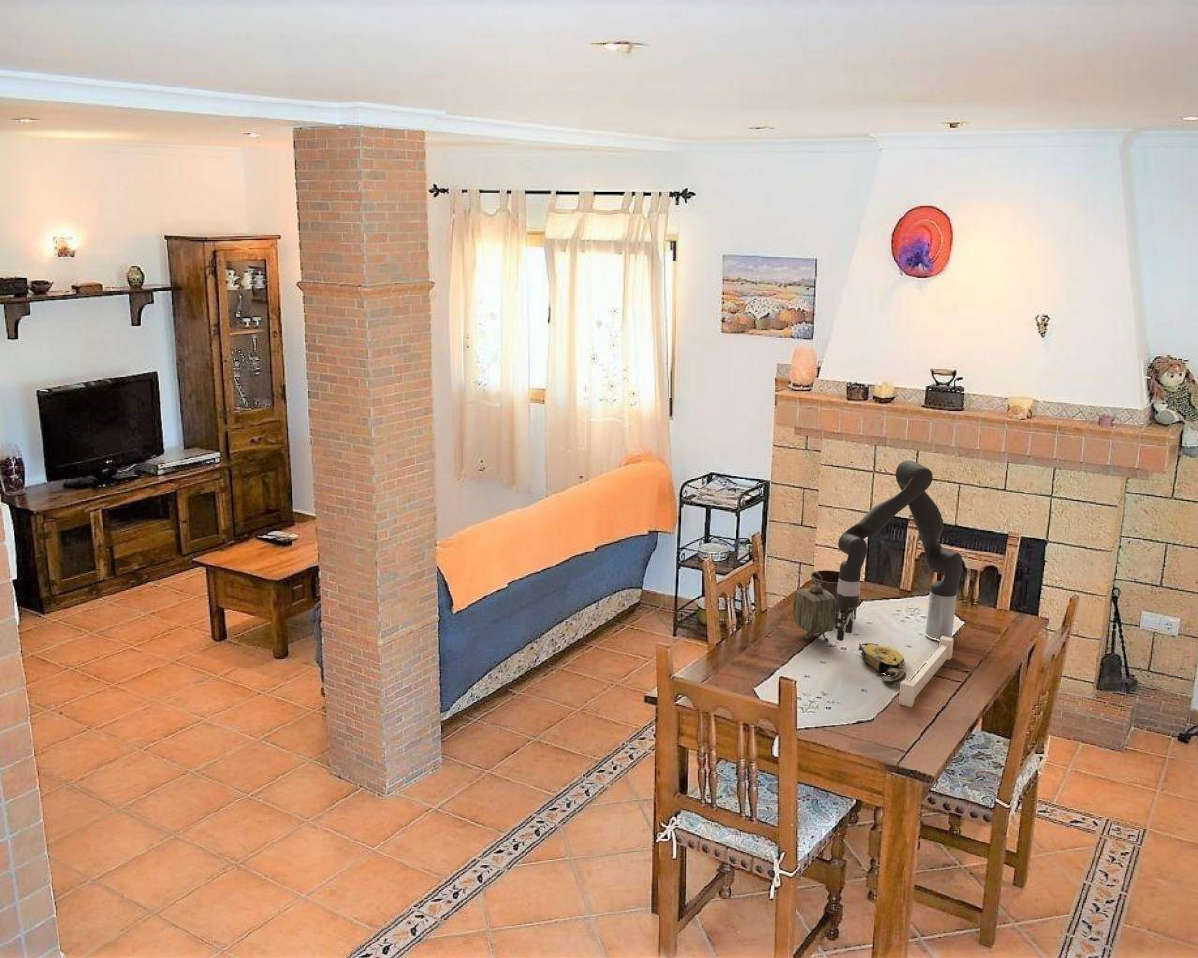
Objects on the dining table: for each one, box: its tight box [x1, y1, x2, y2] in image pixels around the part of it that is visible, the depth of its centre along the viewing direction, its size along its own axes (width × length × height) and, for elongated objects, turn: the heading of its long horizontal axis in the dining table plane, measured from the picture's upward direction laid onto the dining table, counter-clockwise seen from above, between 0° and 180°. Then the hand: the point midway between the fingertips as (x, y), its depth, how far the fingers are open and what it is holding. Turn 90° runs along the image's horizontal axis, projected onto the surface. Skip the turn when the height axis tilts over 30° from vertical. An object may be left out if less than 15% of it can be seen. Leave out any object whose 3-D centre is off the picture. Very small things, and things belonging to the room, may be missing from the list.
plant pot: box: [811, 570, 841, 620], centre depth 416 cm, size 15×15×16 cm
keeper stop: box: [898, 636, 955, 708], centre depth 362 cm, size 48×4×7 cm, turn 148°
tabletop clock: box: [792, 570, 836, 643], centre depth 392 cm, size 14×9×25 cm, turn 22°
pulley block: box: [858, 642, 907, 686], centre depth 369 cm, size 14×6×30 cm
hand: (844, 636), depth 375 cm, fingers open, 8 cm apart
